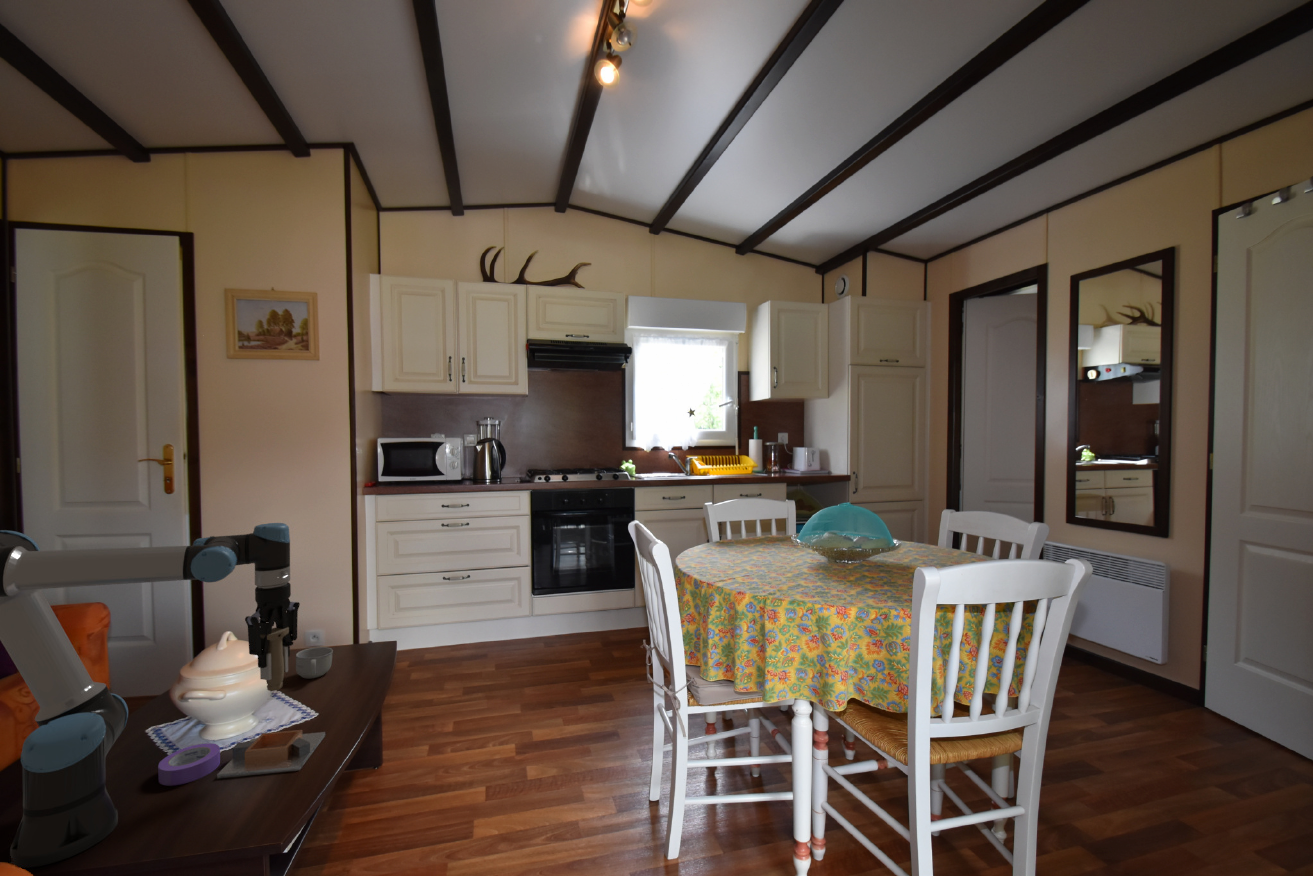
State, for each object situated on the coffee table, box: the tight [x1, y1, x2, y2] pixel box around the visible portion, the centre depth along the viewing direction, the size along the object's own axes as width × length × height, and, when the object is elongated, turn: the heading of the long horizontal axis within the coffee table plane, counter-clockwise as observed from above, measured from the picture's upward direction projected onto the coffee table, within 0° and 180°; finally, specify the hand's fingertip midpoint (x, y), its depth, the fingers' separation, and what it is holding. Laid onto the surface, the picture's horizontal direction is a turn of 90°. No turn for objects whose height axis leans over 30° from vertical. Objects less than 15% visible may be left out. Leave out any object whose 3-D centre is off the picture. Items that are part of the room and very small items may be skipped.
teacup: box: [295, 646, 334, 679], centre depth 191 cm, size 14×11×8 cm
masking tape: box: [157, 742, 221, 787], centre depth 138 cm, size 12×12×4 cm
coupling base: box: [216, 729, 326, 780], centre depth 144 cm, size 18×16×4 cm
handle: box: [260, 627, 289, 692], centre depth 144 cm, size 5×6×15 cm
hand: (274, 674), depth 144 cm, fingers closed on handle, 4 cm apart
